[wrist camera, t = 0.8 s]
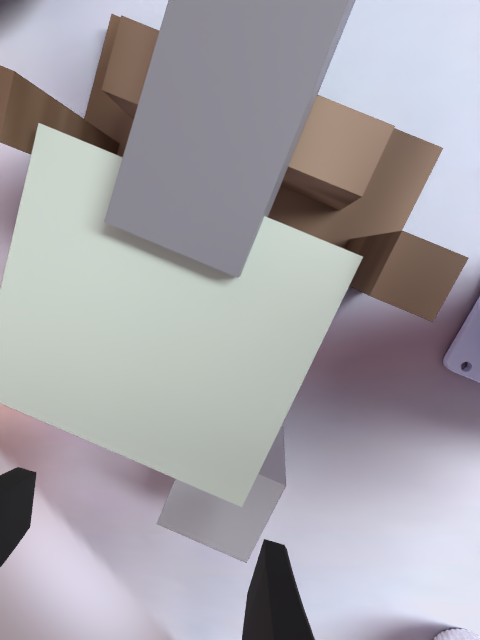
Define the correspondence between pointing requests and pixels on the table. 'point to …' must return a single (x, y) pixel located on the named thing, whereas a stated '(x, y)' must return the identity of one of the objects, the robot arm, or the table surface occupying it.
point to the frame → (300, 178)
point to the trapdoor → (180, 253)
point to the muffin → (456, 635)
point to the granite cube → (228, 509)
